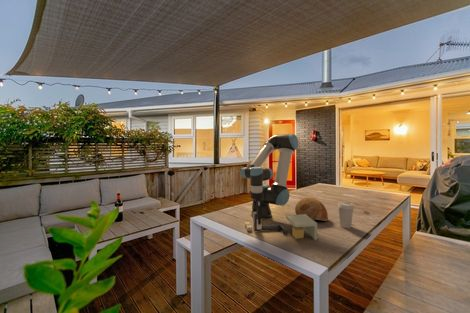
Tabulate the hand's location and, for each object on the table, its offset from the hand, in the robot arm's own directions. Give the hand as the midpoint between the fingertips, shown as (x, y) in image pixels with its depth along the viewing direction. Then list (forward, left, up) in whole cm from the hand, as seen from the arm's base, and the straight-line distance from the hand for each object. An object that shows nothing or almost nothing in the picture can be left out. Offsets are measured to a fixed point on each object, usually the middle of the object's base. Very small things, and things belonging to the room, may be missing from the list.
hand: (256, 225), depth 143 cm
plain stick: (-4, -5, -4) cm, 7 cm away
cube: (+12, +22, -4) cm, 25 cm away
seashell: (-15, +42, -4) cm, 45 cm away
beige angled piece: (+10, +25, -4) cm, 27 cm away
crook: (+3, +7, -4) cm, 9 cm away
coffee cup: (+2, +58, -4) cm, 58 cm away
